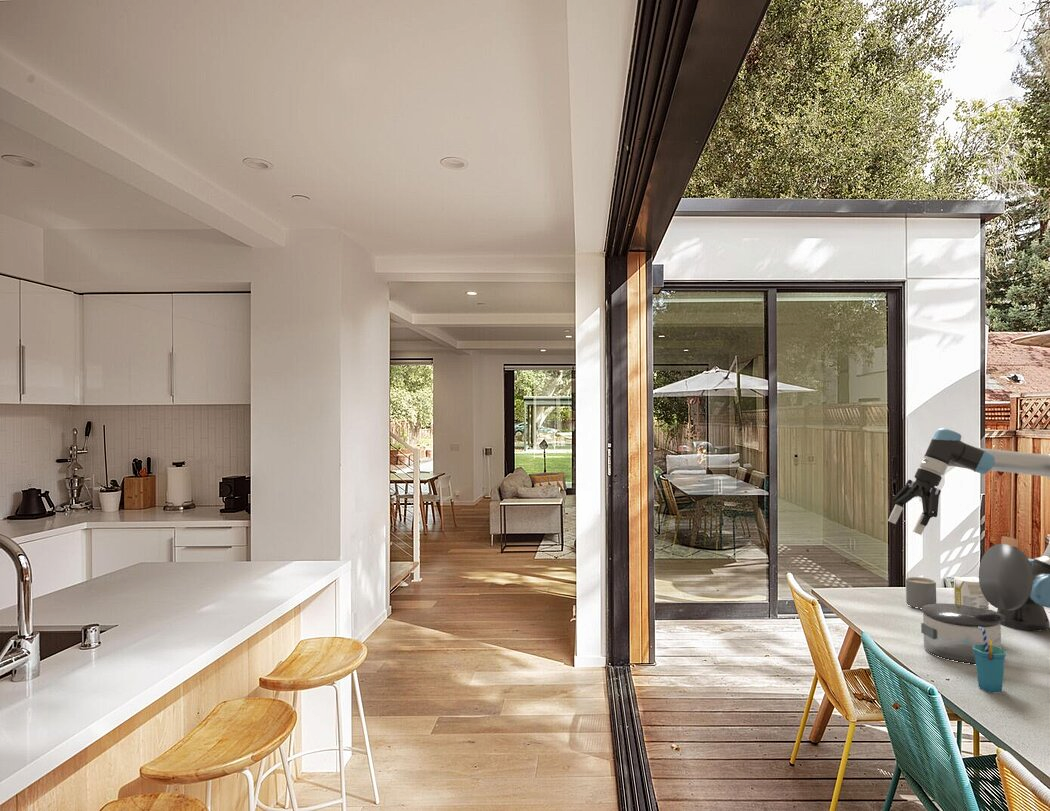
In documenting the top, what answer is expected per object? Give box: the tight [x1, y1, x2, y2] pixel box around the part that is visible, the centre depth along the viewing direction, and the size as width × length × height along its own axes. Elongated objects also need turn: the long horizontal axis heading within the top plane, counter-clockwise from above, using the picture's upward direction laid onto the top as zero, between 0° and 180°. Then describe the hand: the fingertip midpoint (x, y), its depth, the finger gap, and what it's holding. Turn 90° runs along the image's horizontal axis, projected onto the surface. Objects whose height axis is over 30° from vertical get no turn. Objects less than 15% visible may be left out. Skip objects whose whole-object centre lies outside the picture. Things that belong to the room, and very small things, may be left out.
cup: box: [973, 626, 1007, 693], centre depth 176 cm, size 14×8×15 cm, turn 160°
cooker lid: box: [978, 535, 1033, 610], centre depth 201 cm, size 22×20×4 cm
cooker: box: [920, 603, 1005, 665], centre depth 201 cm, size 22×21×12 cm
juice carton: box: [953, 576, 990, 610], centre depth 217 cm, size 8×9×19 cm
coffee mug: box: [905, 576, 937, 608], centre depth 251 cm, size 13×10×10 cm
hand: (903, 527), depth 222 cm, fingers open, 13 cm apart
